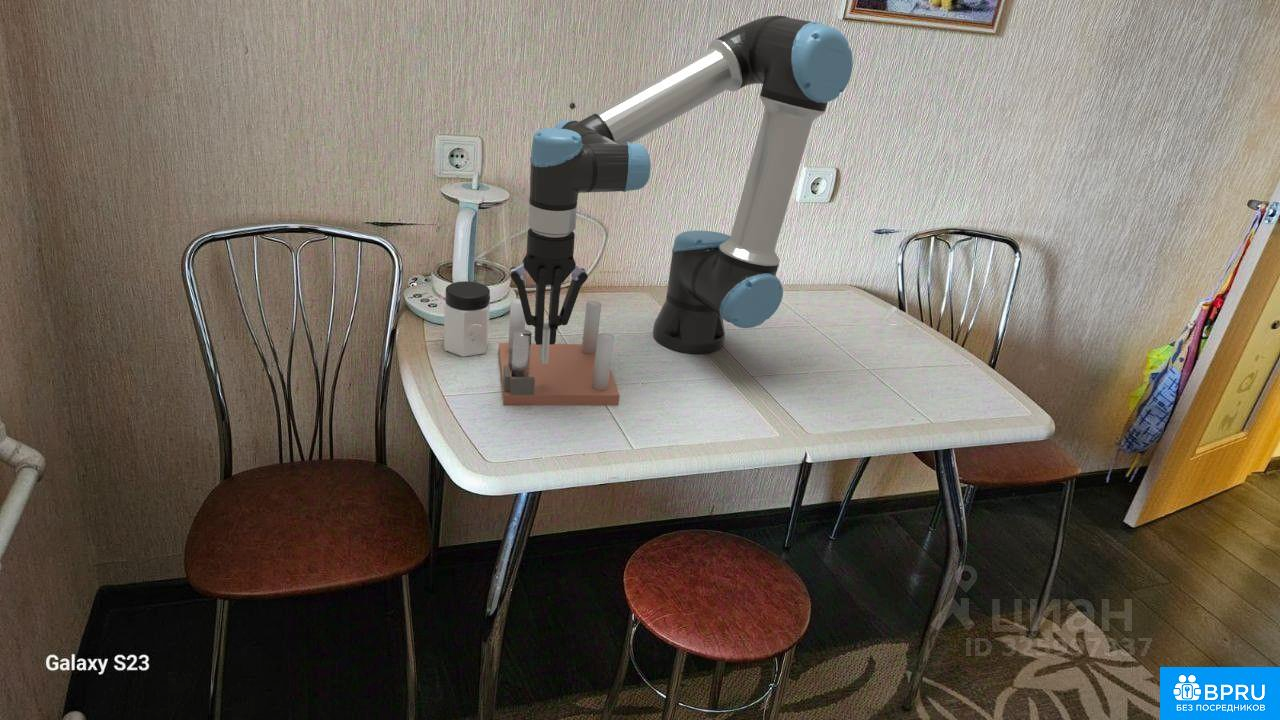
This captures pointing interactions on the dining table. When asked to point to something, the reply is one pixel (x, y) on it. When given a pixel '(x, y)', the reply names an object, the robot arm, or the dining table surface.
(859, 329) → the dining table surface
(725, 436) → the dining table surface
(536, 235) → the robot arm
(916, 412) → the dining table surface
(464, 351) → the jar
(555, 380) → the seat
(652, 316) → the dining table surface
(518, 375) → the shiny metal angled handle
